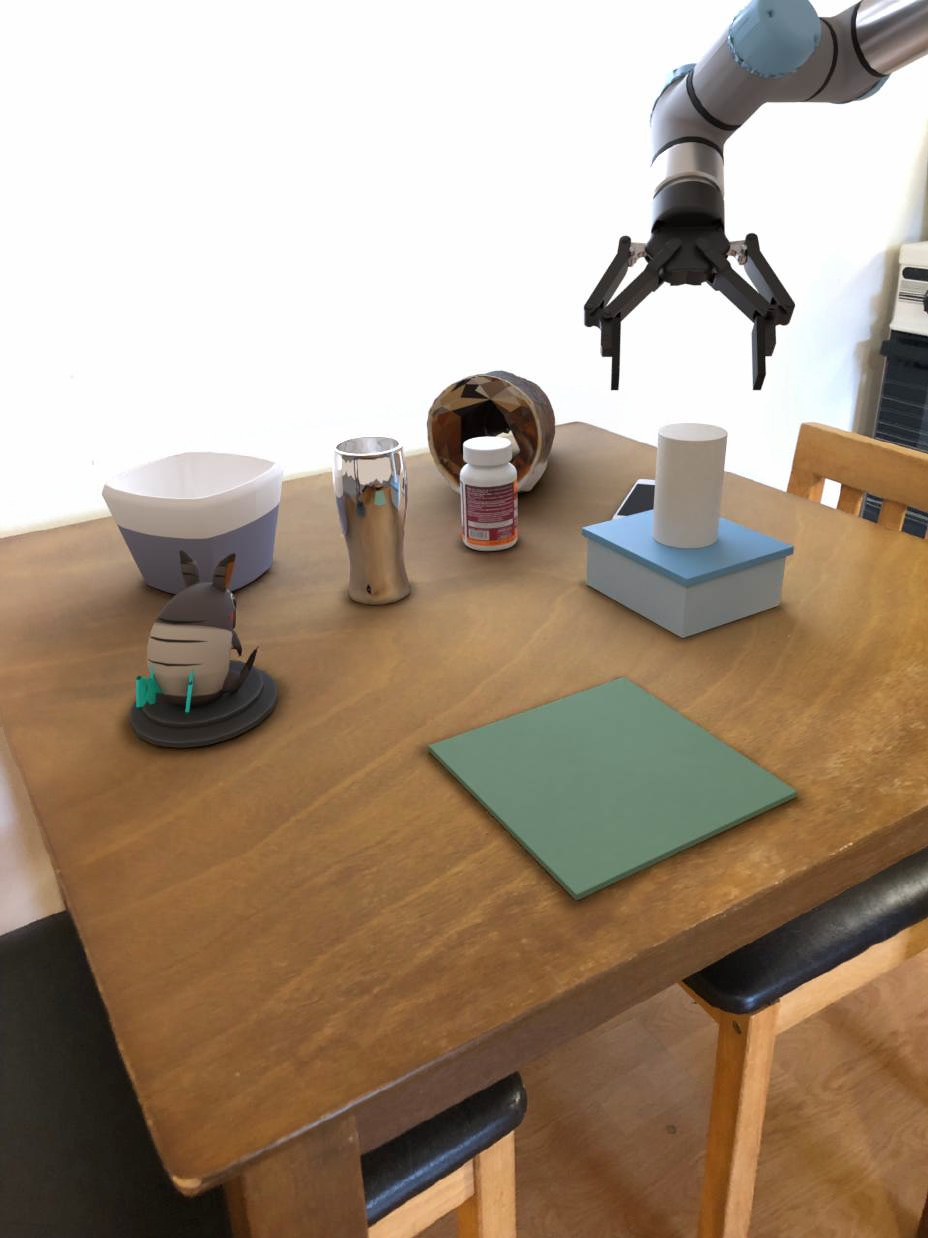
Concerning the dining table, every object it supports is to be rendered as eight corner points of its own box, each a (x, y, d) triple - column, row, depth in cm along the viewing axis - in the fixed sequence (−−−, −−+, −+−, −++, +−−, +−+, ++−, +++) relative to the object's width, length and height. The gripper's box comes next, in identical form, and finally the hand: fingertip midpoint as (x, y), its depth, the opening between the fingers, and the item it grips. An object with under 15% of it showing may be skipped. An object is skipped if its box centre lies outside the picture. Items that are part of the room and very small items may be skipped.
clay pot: (573, 363, 131) (538, 364, 108) (581, 472, 135) (550, 496, 112) (472, 375, 136) (418, 378, 112) (482, 480, 139) (432, 505, 116)
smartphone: (695, 489, 117) (695, 482, 117) (673, 532, 104) (674, 524, 104) (638, 485, 119) (638, 477, 119) (610, 526, 107) (611, 518, 106)
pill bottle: (527, 546, 102) (527, 445, 97) (476, 556, 100) (474, 454, 95) (502, 528, 107) (500, 431, 102) (453, 538, 105) (449, 440, 100)
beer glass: (360, 575, 97) (347, 432, 90) (423, 581, 95) (415, 436, 88) (333, 603, 91) (317, 453, 84) (400, 610, 89) (389, 457, 82)
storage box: (786, 606, 87) (794, 546, 84) (682, 641, 81) (687, 578, 79) (678, 555, 99) (682, 501, 96) (580, 583, 93) (581, 527, 90)
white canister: (731, 539, 86) (742, 433, 82) (682, 553, 84) (690, 444, 79) (686, 520, 91) (694, 419, 87) (638, 533, 88) (644, 429, 84)
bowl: (201, 539, 107) (185, 445, 102) (312, 559, 101) (301, 459, 96) (101, 591, 95) (77, 487, 90) (220, 617, 89) (202, 506, 84)
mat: (796, 797, 62) (797, 791, 61) (576, 901, 54) (576, 894, 54) (623, 681, 76) (623, 676, 75) (428, 751, 68) (428, 745, 68)
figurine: (100, 742, 70) (66, 601, 65) (179, 665, 81) (154, 538, 75) (239, 757, 68) (215, 612, 63) (301, 676, 78) (285, 546, 73)
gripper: (804, 226, 98) (812, 403, 92) (566, 232, 102) (557, 403, 95) (821, 172, 91) (831, 359, 85) (564, 180, 95) (555, 360, 88)
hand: (686, 382), depth 90 cm, fingers open, 13 cm apart
